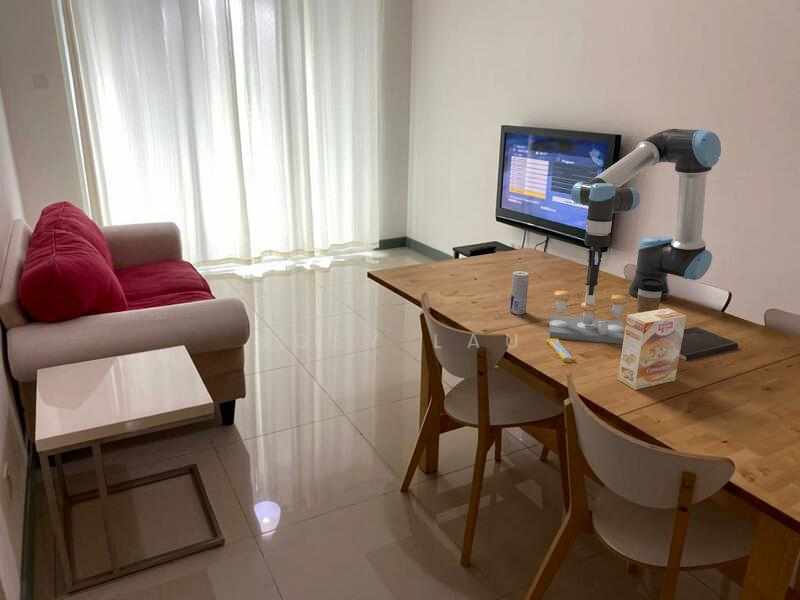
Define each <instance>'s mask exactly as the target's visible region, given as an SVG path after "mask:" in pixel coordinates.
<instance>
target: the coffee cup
mask: <svg viewBox="0 0 800 600" xmlns="http://www.w3.org/2000/svg"><path fill="white" fill-rule="evenodd" d="M638 288H639V289H638V297H636V298H637V300H636V305H637V306H636V313H641V312H647V311H654V310H659V308H660V303H661V301H662V300H661V293H662V291H663V290H664V289H663V282H662V281H661V280H659V279H655V278H643V279H641V280H640V282H639V284H638Z"/></svg>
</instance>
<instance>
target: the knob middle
mask: <svg viewBox="0 0 800 600" xmlns="http://www.w3.org/2000/svg"><path fill="white" fill-rule="evenodd" d="M580 305H581V306H580V310H583V313H582V318H583V320H582V323H583V324H587V325H591V324H592V321H593V319H594V312H595V311H597V310H598V304H597V303H595V302H594V305H592V304H585V301H583V302H581V304H580Z"/></svg>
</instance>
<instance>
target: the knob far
mask: <svg viewBox="0 0 800 600" xmlns="http://www.w3.org/2000/svg"><path fill="white" fill-rule="evenodd" d="M570 297H571V293H570V292H569V291H566V290H555V291H554V295H553V298H554V299H556V302H555V311H554V312H555V313H557V314H566V308H567V300H570Z"/></svg>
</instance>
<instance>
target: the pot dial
mask: <svg viewBox="0 0 800 600" xmlns="http://www.w3.org/2000/svg"><path fill="white" fill-rule="evenodd" d="M604 320H605V321H599V322H598V334H599V335H602V336H605V335H607V334H608V322H607V321H606V320H607V319H604Z"/></svg>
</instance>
